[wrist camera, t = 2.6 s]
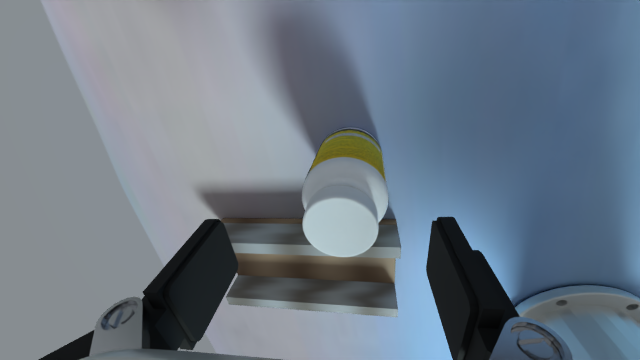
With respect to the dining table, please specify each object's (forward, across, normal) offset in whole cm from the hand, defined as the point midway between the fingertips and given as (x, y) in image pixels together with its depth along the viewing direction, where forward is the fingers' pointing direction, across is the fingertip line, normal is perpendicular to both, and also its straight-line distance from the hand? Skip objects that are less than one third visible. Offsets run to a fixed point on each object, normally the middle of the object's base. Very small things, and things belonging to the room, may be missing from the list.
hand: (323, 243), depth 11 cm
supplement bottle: (+12, -1, +1) cm, 12 cm away
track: (+11, +4, +12) cm, 17 cm away
